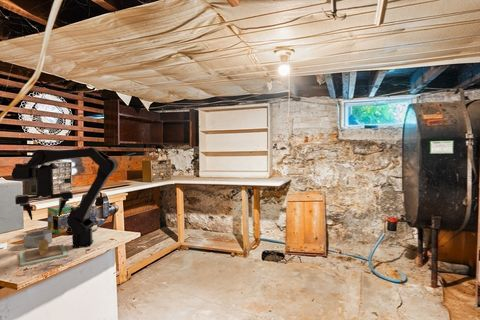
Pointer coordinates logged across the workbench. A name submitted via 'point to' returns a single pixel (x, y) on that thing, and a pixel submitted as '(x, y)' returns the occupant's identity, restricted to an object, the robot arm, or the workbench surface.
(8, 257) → the workbench surface
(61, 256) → the mat
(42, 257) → the cover
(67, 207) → the green lantern
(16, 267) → the workbench surface
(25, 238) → the bowl
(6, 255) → the workbench surface
